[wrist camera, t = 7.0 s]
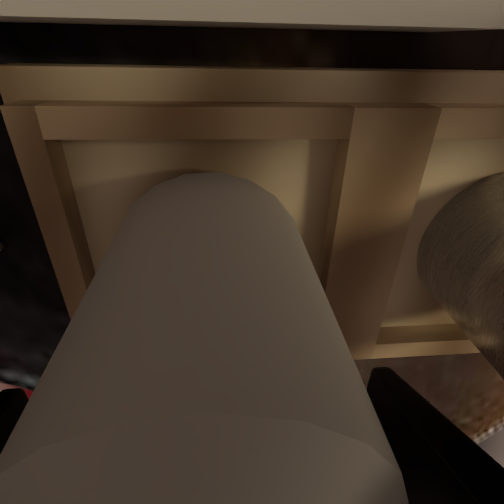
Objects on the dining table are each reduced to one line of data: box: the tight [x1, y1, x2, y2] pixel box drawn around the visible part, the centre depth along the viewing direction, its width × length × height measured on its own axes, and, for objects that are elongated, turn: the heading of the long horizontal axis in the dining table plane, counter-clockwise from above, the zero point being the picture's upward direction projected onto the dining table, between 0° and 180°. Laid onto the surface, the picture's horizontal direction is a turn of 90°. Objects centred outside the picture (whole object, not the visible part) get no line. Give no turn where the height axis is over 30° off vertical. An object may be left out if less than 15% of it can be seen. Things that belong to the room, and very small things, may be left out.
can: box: [0, 172, 409, 504], centre depth 10 cm, size 8×8×12 cm
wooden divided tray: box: [0, 63, 504, 360], centre depth 16 cm, size 26×14×3 cm, turn 89°
